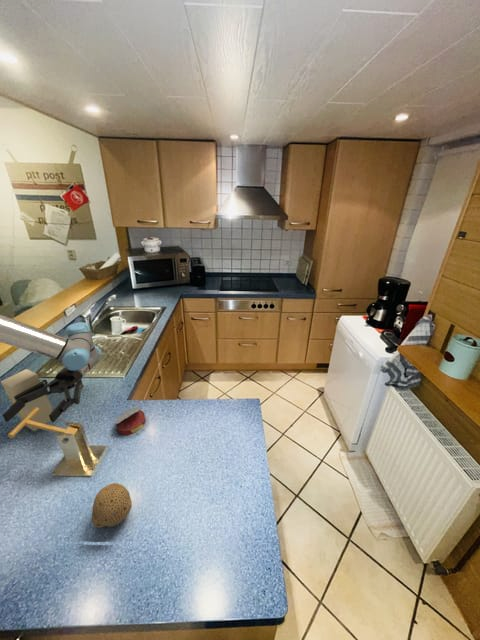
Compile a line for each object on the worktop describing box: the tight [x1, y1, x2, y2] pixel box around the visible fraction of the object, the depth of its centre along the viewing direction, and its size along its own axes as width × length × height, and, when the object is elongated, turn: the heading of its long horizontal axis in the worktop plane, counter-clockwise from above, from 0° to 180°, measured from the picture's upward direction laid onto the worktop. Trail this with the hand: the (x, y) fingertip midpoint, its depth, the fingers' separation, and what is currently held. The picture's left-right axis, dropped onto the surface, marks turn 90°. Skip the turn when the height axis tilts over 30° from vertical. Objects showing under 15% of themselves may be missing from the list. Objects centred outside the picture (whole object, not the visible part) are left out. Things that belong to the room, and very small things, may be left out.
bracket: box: [50, 421, 109, 478], centre depth 77 cm, size 12×10×15 cm
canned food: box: [114, 406, 146, 436], centre depth 92 cm, size 11×10×10 cm
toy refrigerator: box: [0, 368, 54, 432], centre depth 90 cm, size 8×7×21 cm
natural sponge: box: [91, 482, 133, 528], centre depth 64 cm, size 9×9×10 cm
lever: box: [7, 407, 78, 439], centre depth 74 cm, size 15×10×2 cm, turn 90°
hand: (28, 418), depth 74 cm, fingers open, 13 cm apart
